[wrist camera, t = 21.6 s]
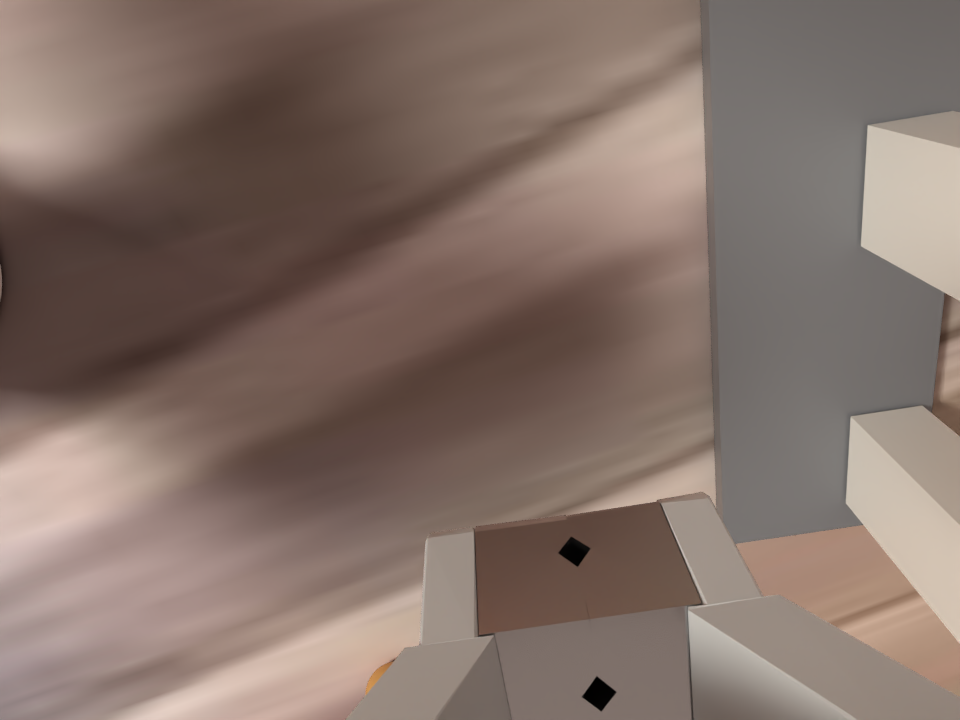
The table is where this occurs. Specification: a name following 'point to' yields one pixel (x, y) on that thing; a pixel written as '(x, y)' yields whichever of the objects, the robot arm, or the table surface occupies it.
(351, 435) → the table surface
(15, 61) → the table surface
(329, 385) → the table surface
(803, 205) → the grey flat board
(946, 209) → the key two
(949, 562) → the key one
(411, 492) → the table surface
